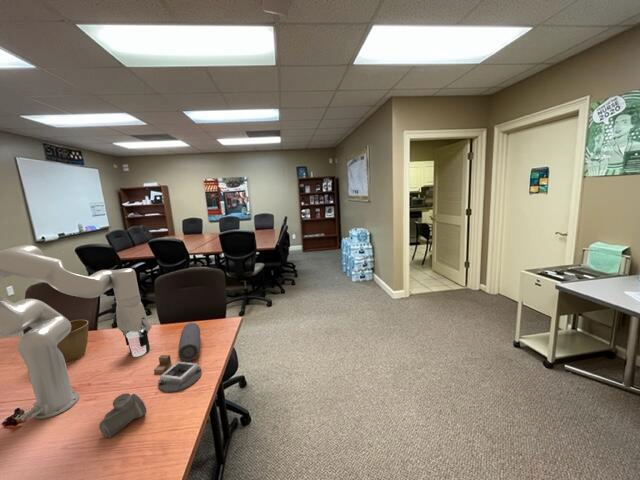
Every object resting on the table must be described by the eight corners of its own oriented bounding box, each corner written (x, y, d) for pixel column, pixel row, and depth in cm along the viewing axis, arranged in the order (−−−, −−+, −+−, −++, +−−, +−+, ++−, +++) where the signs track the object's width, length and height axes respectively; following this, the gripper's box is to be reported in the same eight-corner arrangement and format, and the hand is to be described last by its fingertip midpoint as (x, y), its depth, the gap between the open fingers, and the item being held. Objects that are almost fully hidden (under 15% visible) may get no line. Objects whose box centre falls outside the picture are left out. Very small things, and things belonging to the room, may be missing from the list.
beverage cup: (151, 351, 111) (145, 318, 108) (135, 359, 105) (128, 325, 103) (143, 347, 114) (137, 315, 111) (127, 355, 108) (120, 322, 106)
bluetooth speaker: (201, 360, 128) (198, 340, 126) (178, 366, 124) (175, 345, 123) (202, 337, 149) (199, 319, 147) (183, 341, 145) (180, 323, 143)
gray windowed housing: (183, 394, 106) (181, 385, 105) (149, 389, 110) (147, 380, 110) (209, 368, 121) (208, 360, 121) (178, 364, 125) (177, 356, 125)
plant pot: (46, 364, 131) (38, 333, 128) (81, 346, 145) (74, 318, 142) (68, 368, 127) (60, 336, 124) (101, 350, 141) (95, 321, 138)
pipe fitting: (137, 406, 101) (130, 384, 98) (150, 415, 97) (142, 393, 94) (99, 434, 91) (90, 411, 88) (111, 446, 87) (102, 422, 84)
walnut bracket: (163, 373, 120) (161, 363, 119) (154, 373, 120) (152, 363, 119) (171, 365, 126) (169, 355, 125) (163, 365, 126) (161, 355, 125)
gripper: (101, 304, 104) (111, 347, 107) (138, 306, 100) (147, 351, 103) (120, 296, 111) (129, 337, 115) (155, 297, 107) (163, 340, 110)
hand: (137, 343), depth 109 cm, fingers closed on beverage cup, 6 cm apart
